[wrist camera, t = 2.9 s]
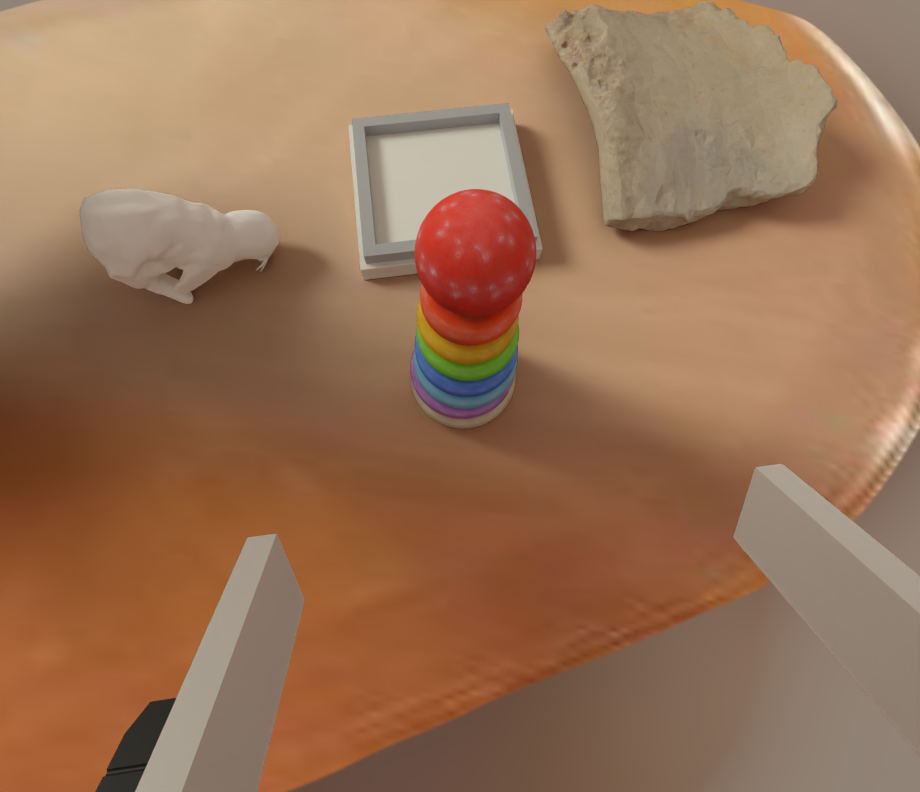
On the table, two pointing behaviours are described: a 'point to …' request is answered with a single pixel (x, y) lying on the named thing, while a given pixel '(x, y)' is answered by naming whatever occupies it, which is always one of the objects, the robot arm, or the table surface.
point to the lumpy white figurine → (170, 239)
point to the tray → (428, 175)
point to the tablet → (691, 111)
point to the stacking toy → (470, 306)
